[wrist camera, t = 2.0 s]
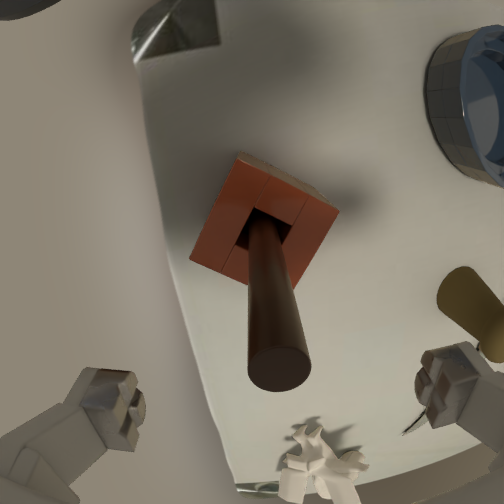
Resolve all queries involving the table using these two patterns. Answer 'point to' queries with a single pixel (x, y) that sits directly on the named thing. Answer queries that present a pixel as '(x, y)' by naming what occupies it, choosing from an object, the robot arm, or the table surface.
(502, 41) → the bowl
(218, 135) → the table surface
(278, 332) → the stick
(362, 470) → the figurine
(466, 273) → the pepper shaker
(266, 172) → the holder
